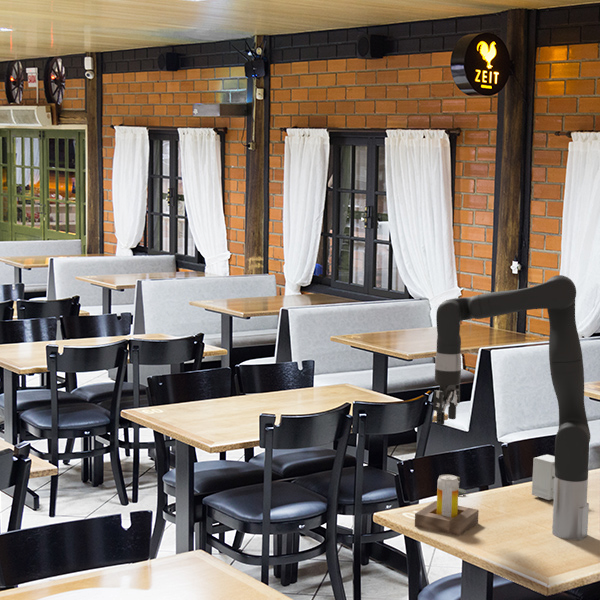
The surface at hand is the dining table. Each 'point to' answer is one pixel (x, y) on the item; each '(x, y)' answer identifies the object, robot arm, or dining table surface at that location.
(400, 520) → the dining table surface
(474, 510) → the box holder
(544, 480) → the supplement box
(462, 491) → the pot lid
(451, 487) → the beer can
